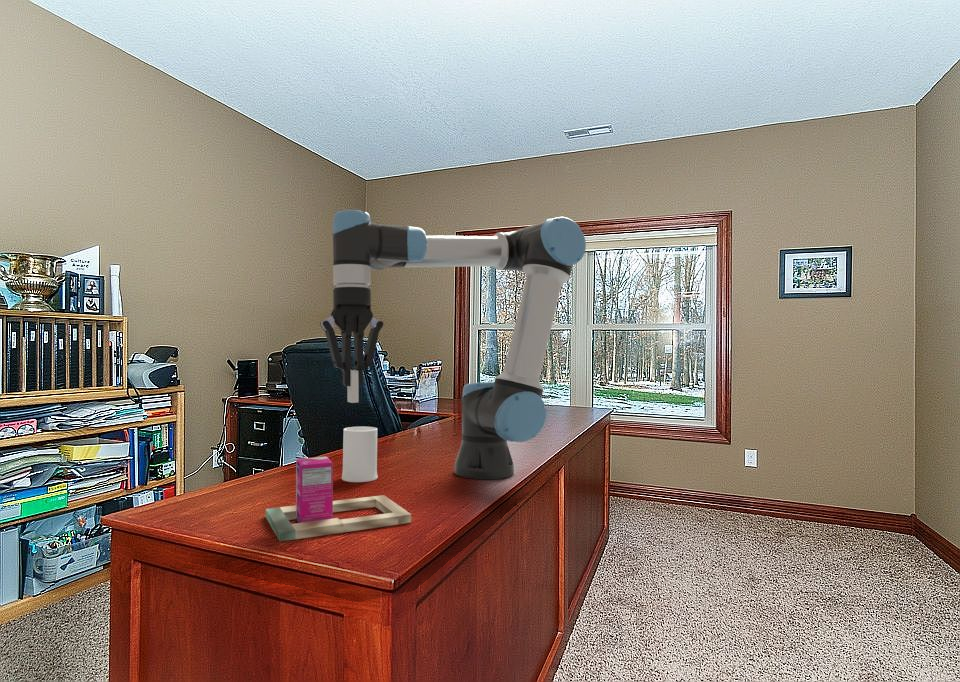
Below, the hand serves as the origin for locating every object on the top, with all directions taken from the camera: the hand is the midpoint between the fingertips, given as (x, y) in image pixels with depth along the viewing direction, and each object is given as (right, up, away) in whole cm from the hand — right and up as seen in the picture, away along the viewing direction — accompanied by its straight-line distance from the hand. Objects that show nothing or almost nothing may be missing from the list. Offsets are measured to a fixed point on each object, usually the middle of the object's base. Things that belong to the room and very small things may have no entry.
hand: (353, 401), depth 118 cm
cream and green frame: (0, -20, -12) cm, 24 cm away
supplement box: (-4, -21, -14) cm, 25 cm away
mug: (-3, -21, +22) cm, 31 cm away
